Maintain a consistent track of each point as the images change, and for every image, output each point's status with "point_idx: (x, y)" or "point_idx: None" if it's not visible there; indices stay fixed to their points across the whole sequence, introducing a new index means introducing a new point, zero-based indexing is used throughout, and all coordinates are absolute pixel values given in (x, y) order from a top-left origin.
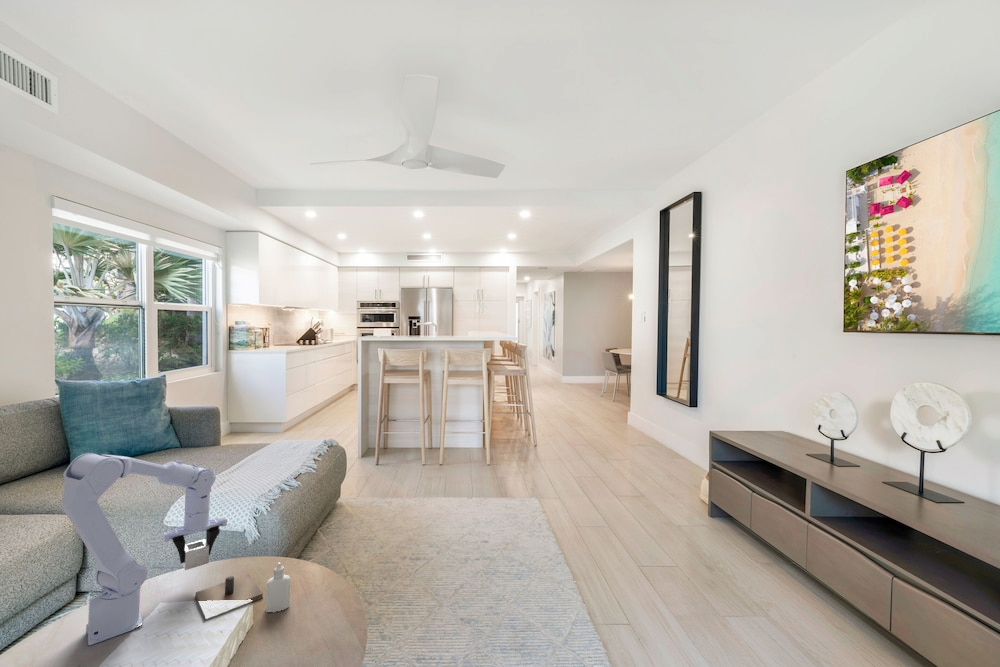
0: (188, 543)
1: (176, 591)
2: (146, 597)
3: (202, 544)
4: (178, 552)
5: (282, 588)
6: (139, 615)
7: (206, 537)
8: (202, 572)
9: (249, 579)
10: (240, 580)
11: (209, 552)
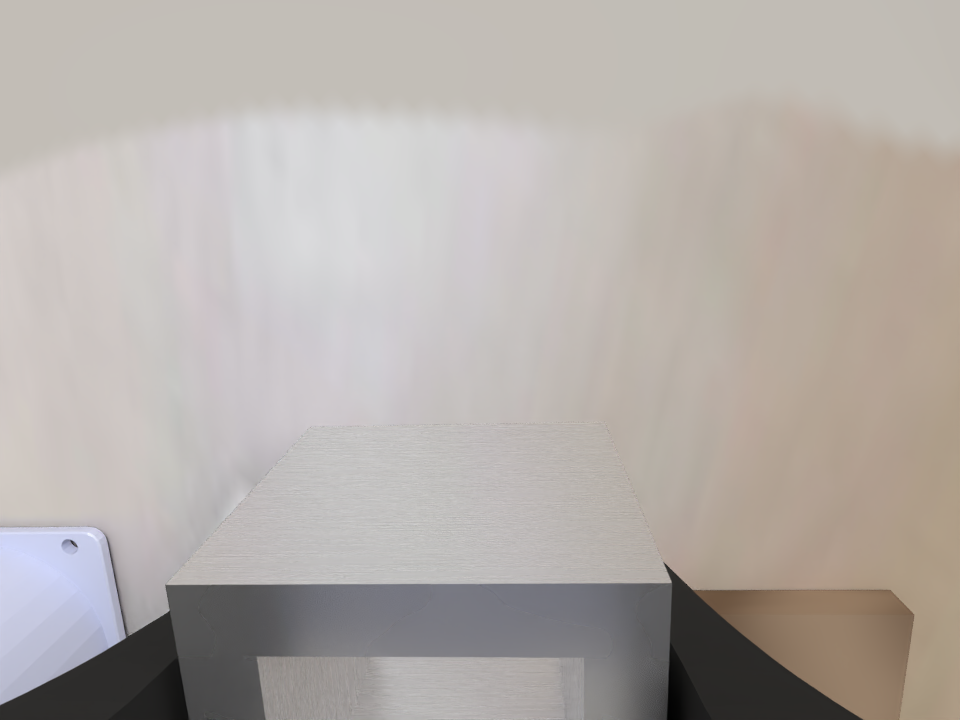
0: (297, 587)
1: (350, 398)
2: (137, 331)
3: (578, 677)
4: (158, 621)
5: None
6: (107, 621)
7: (705, 704)
8: (591, 171)
9: (876, 709)
10: (812, 674)
11: None
